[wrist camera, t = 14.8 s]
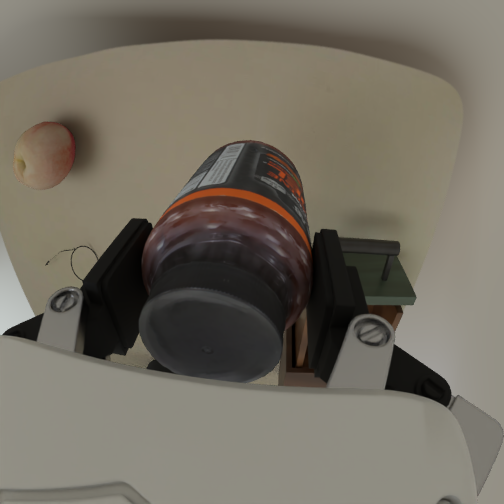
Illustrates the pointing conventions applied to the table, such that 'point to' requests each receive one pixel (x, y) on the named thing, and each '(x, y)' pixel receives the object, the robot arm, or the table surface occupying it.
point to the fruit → (44, 155)
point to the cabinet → (287, 366)
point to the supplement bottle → (228, 266)
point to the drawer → (368, 285)
